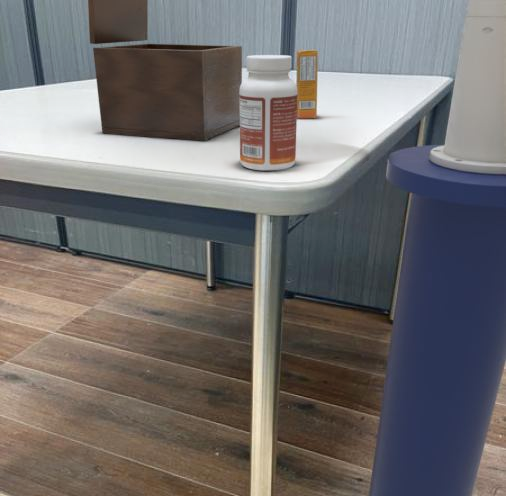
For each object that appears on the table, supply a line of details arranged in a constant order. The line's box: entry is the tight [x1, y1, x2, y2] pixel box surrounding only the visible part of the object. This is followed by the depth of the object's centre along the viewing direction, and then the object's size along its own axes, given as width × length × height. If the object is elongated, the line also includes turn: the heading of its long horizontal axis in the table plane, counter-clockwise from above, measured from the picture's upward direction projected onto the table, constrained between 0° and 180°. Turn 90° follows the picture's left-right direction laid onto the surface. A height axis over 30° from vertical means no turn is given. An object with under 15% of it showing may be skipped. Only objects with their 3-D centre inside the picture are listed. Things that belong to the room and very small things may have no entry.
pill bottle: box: [239, 54, 298, 172], centre depth 63 cm, size 6×6×11 cm
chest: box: [92, 43, 243, 142], centre depth 84 cm, size 16×15×11 cm
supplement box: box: [295, 49, 319, 120], centre depth 95 cm, size 3×3×10 cm
